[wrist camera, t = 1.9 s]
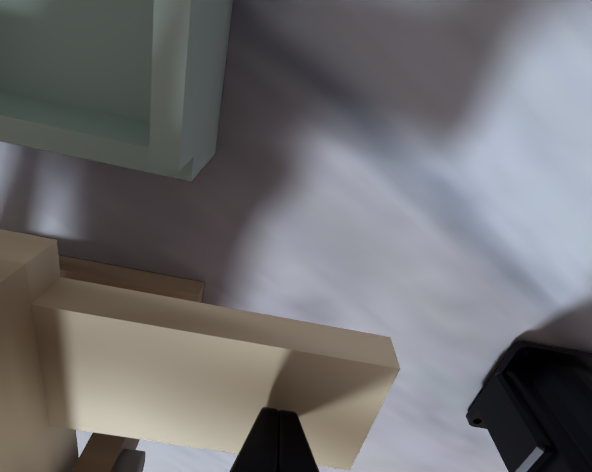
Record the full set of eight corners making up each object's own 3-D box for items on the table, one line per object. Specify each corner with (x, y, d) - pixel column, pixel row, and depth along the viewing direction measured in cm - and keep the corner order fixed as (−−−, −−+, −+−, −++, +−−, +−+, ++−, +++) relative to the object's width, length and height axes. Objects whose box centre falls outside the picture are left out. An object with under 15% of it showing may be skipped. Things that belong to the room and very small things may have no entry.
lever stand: (196, 342, 19) (113, 572, 11) (-19, 305, 18) (-298, 524, 10) (204, 282, 17) (111, 500, 9) (-35, 237, 16) (-395, 434, 8)
